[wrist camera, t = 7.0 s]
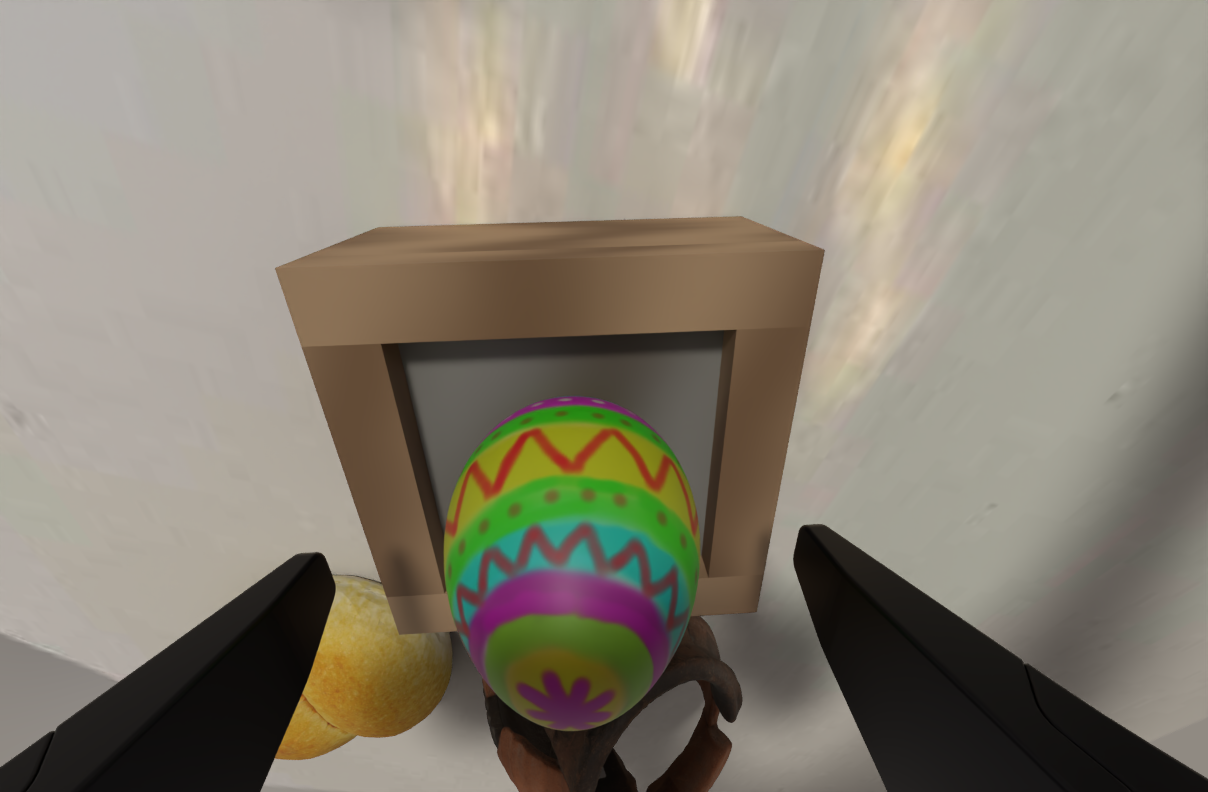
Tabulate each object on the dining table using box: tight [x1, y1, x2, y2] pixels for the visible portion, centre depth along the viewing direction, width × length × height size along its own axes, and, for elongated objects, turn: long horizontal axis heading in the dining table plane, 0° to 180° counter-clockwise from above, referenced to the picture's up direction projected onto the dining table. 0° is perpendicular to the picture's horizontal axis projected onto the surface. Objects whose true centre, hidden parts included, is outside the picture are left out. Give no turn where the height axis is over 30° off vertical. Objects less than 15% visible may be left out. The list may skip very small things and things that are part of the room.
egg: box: [444, 396, 700, 731], centre depth 9 cm, size 5×5×6 cm
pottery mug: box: [482, 616, 742, 792], centre depth 20 cm, size 12×10×8 cm
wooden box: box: [275, 216, 825, 635], centre depth 13 cm, size 10×10×5 cm
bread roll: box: [275, 575, 453, 760], centre depth 19 cm, size 8×9×4 cm
